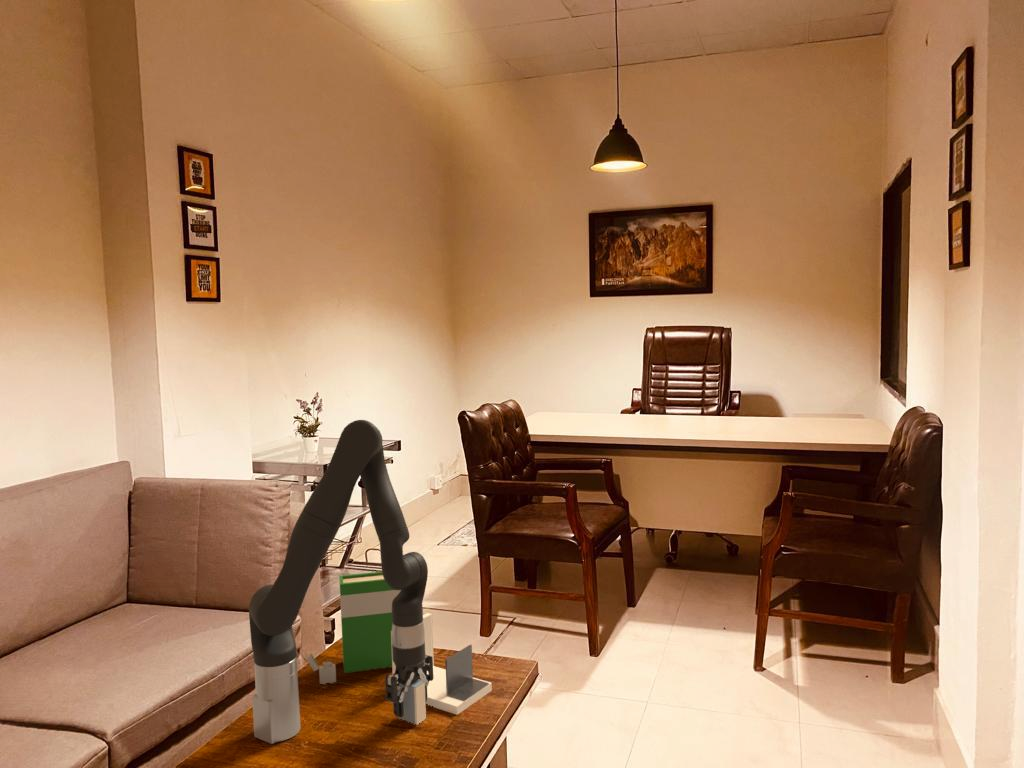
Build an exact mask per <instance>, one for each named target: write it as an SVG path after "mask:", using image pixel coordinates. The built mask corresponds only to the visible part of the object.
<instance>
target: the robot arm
mask: <svg viewBox="0 0 1024 768" xmlns="http://www.w3.org/2000/svg"><path fill="white" fill-rule="evenodd" d="M383 446H384V445H383V436H382V433H381V431H380V430H379V428H378V427H377V426H376V425H375V424H374V423H373V422H371V421H369V420H365V419H357V420H354V421H351V422H350V423H347V425H346V426H345V427H344V428H343V430H341V433H340V435H339V438H338V441H337V444H336V446H335V448H334V452H333V455H332V456H331V459H330V461H329V464H328V466H327V468H326V470H325V472H324V473H323V475H322V477H321V479H320V480H319V481H318V483H317V485H316V486H315V487H314V490H313V491H312V493H311V494H310V496H309V499H308V500H307V501H306V504H305V505H304V507H303V509H302V510H301V512H300V514H299V516H298V518H297V520H296V522H295V524H294V527H293V529H292V532H291V534H290V538H289V542H288V545H287V549H286V554H285V558H284V562H283V565H282V568H281V570H280V572H279V575H277V577H276V580H275V581H274V583H273V584H267V585H264V586H262V587H260V588H259V589H258V590H256V591H255V592H254V594H253V595H252V596H251V599H250V602H249V606H248V607H249V608H248V617H249V629H250V630H249V631H250V643H251V649H252V653H253V663H254V664H253V665H254V682H255V685H254V686H255V694H254V695H252V697H251V701H252V702H251V703H252V716H253V717H252V719H253V736H254V737H255V738H257V739H259V740H261V741H264V742H266V743H268V744H271V745H274V744H275V743H279V742H282V741H287V740H288V739H291V738H293V737H294V736H297V734H298V733H299V732H300V731H301V714H300V711H301V710H300V694H299V679H298V677H299V675H298V657H297V656H298V655H297V643H296V640H295V637H294V636H295V635H294V630H293V625H294V623H295V622H296V619H297V617H298V616H299V612H300V610H301V607H302V605H303V603H304V600H305V596H306V594H307V592H308V589H309V587H310V585H311V583H312V580H313V578H314V577H315V574H317V571H318V569H319V567H320V566H321V564H322V561H323V560H324V559H325V557H326V554H327V552H328V550H329V548H330V546H331V545H332V543H333V541H334V539H335V537H336V536H337V534H338V532H339V530H340V528H341V525H342V524H343V521H344V519H345V516H346V513H347V511H348V509H349V505H350V501H351V498H352V494H353V492H354V489H355V486H356V484H357V482H358V479H360V478H361V481H362V485H363V487H364V491H365V496H366V500H367V503H368V508H369V513H370V516H371V519H372V523H373V526H374V529H375V532H376V536H377V537H378V538H377V539H378V541H379V549H380V550H379V551H380V553H379V554H380V563H381V564H380V566H381V571H382V574H383V577H384V579H385V581H386V583H387V584H388V585H389V586H390V587H391V588H392V589H394V590H401V591H400V593H399V594H398V595H397V596H396V597H395V598H394V599H393V601H392V654H393V662H394V663H395V665H396V670H395V673H394V674H393V673H392V674H386V675H385V679H384V683H385V700H386V701H387V702H390V703H392V705H393V706H392V708H393V715H394V716H395V717H396V718H397V717H400V718H401V717H403V716H404V708H403V698H404V695H405V693H406V692H407V691H408V689H409V686H410V684H412V683H414V682H415V681H417V680H419V681H422V682H424V683H425V702H426V701H427V686H428V684H429V681H432V680H433V658H432V656H429V655H425V631H424V624H423V615H424V612H423V610H424V609H423V601H424V598H425V594H426V593H425V592H426V587H427V584H428V583H427V581H428V577H429V576H428V575H429V570H428V563H427V561H426V559H425V558H424V556H423V555H422V554H421V553H419V552H417V551H410V552H407V553H405V554H404V550H403V549H404V544H405V543H407V542H408V541H409V540H410V531H409V528H408V525H407V523H406V518H405V517H404V513H403V510H402V508H401V506H400V502H399V500H398V497H397V495H396V492H395V490H394V486H393V485H392V482H391V478H390V475H389V471H388V469H387V464H386V459H385V453H384V447H383ZM427 671H428V674H429V675H428V674H427ZM400 683H401V684H402V685H404V687H400V686H399V684H400ZM399 690H400V691H401V692H400V695H399V696H397V694H398V692H399Z"/></svg>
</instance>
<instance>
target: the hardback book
mask: <svg viewBox="0 0 1024 768" xmlns="http://www.w3.org/2000/svg"><path fill="white" fill-rule="evenodd" d="M338 579H339V594H340V595H339V598H340V619H341V620H340V621H341V640H342V661H343V663H342V664H343V674H348V673H357V671H358V672H364V671H363V670H366V671H370V670H369V669H374V670H377V669H376V668H382V667H389V668H392V667H391V666H392V646H391V631H392V601H393V599H394V598H395V597H396V596H397V595H398V594H399V593H400V591H401V590H394V589H392V588H391V587H390V586H389V585H388V584H387V583H386V581H385V579H384V577H383V574H382V570H381V571H374V572H373V571H372V572H365V573H364V572H362V573H353V574H342V575H339V578H338ZM382 669H383V668H382Z"/></svg>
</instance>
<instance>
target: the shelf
mask: <svg viewBox="0 0 1024 768" xmlns="http://www.w3.org/2000/svg"><path fill="white" fill-rule="evenodd" d="M423 624H424V631H425V655H429V656H432V658H433V680H432V681H429V684H428V686H427V701H426V702H425V704H428V705H427V706H429V705H430V706H429V707H432V706H433V708H435V709H438V710H441V711H444V712H447V713H450V714H454V715H457V716H458V715H459V714H460V713H462V712H464V711H466V709H468V708H469V707H471V706H473V704H475V703H477V702H478V701H479V700H481V699H482V698H484V697H485V696H486V695H488V694H490V693H491V692H492V691H493V683H492V682H491V681H487V680H483V679H480V678H477V677H473V679H476V680H480V681H483V682H487V683H489V685H487V686H486V687H484V688H483V689H482V690H480V691H479V692H477V693H476V694H474V695H473V696H471V697H470V698H468V699H467V700H465V701H462V700H459V699H456V698H453V697H450V696H447V693H446V668H442V667H438V666H435V664H434V663H435V659H434V657H435V656H434V631H433V614H432V613H430V612H427V613H425V614H423ZM391 646H392V631H391ZM391 668H392V674H394V673H395V670H396V665H395V663H394V662H393V654H392V667H391ZM427 674H428V671H427ZM428 675H429V674H428Z"/></svg>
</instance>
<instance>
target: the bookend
mask: <svg viewBox="0 0 1024 768" xmlns="http://www.w3.org/2000/svg"><path fill="white" fill-rule="evenodd" d="M444 663H445V669H446V693H447V696H450V697H453V698H456V699H459V700H462V701H465V700H467V699H468V698H470V697H471V696H473V695H474V694H476V693H477V692H479V691H480V690H482V689H483V688H484V687H486V686H487V685H489V683H487V682H488V681H487V682H483V681H480V680H481V679H480V680H476V679H473V678H474V677H473V675H474V674H473V673H474V672H473V646H472V644H469V645H468V646H465V647H464V648H462V649H460V650H459V651H457V652H456V653H454V654H452V655H450V656H449V657H447V658H445V661H444Z"/></svg>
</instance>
